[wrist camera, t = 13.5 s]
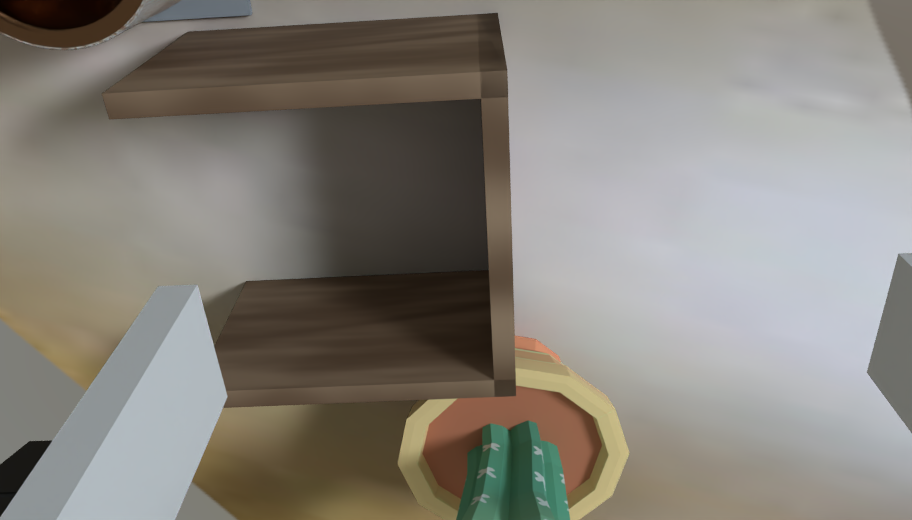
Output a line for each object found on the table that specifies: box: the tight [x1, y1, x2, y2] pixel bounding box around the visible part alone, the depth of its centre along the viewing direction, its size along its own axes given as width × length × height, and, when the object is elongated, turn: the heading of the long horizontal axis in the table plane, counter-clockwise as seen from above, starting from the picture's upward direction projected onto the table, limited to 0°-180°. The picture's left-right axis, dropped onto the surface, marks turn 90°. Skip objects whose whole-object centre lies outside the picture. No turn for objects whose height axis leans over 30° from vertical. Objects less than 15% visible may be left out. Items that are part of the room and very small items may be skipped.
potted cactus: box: [398, 336, 629, 520], centre depth 46 cm, size 15×15×25 cm
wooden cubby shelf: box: [102, 13, 516, 408], centre depth 43 cm, size 18×18×12 cm
